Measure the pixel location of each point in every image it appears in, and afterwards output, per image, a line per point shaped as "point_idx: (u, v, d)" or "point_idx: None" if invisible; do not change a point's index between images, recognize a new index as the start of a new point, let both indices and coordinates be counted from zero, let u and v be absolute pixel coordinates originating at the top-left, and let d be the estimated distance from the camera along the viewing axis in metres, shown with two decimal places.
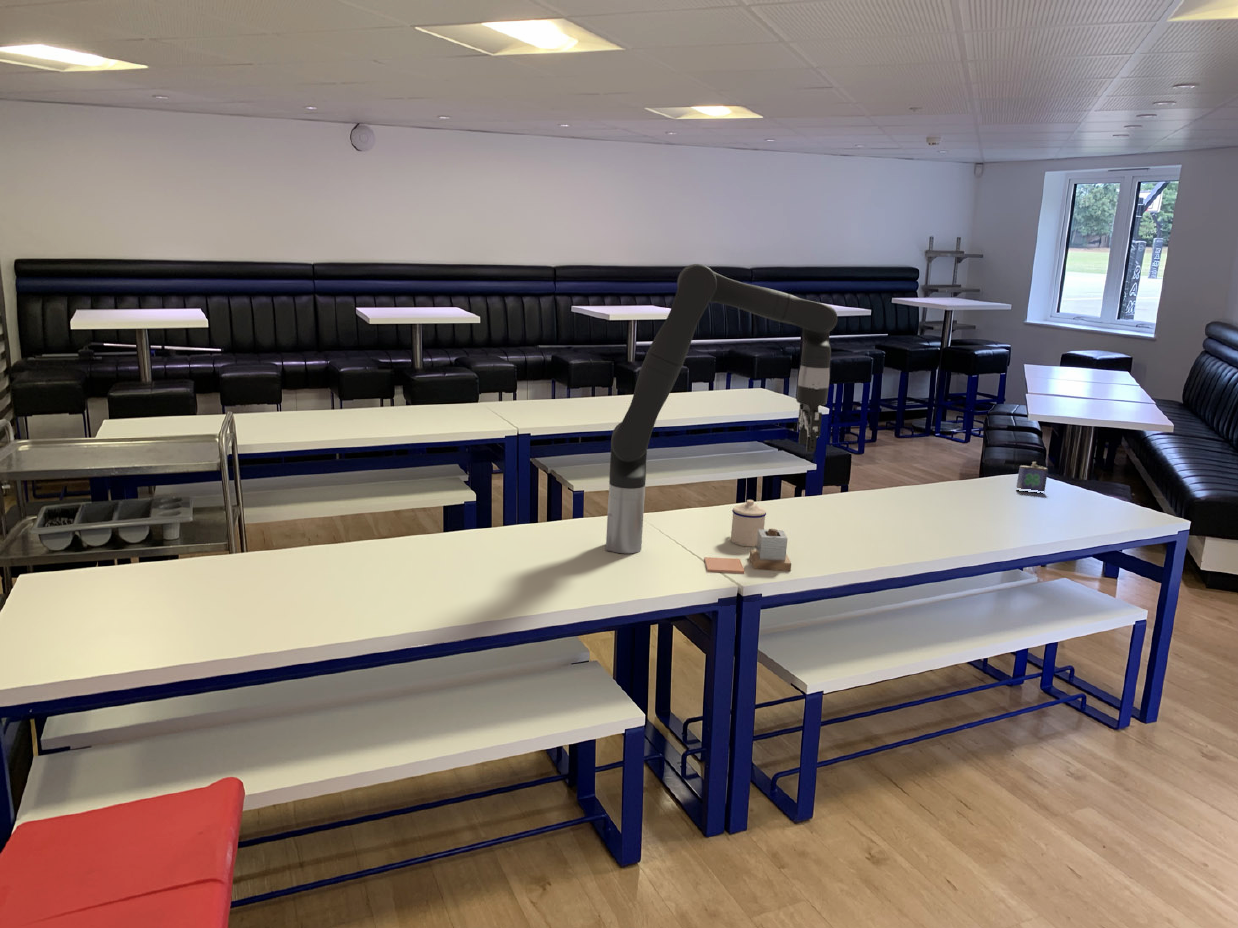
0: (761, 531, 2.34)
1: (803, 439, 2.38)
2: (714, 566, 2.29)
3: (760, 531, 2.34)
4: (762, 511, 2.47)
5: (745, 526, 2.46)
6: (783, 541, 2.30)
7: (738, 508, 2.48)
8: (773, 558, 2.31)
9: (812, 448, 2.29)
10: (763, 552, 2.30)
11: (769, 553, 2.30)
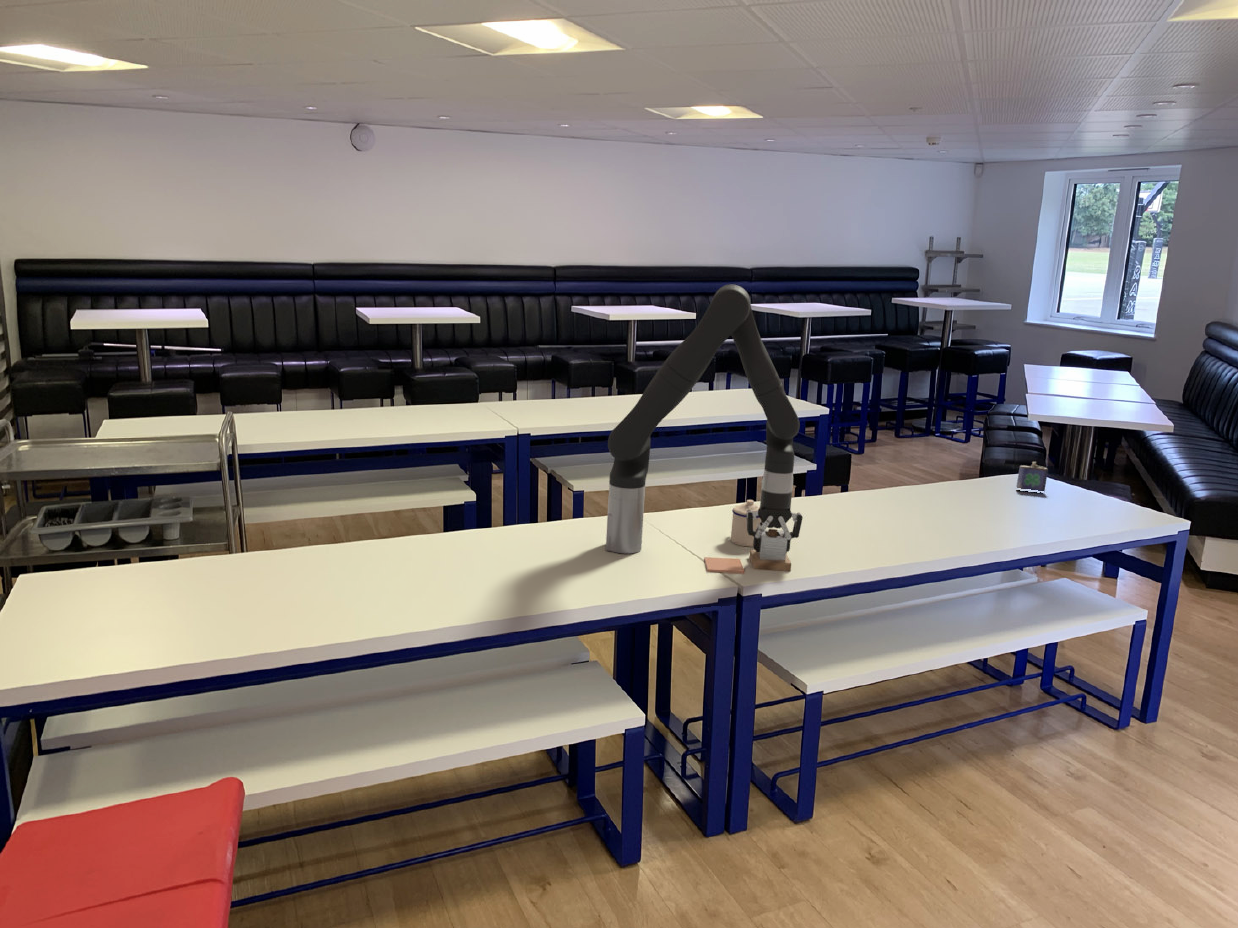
0: None
1: None
2: (714, 566, 2.29)
3: None
4: None
5: (745, 526, 2.46)
6: (783, 541, 2.30)
7: (738, 508, 2.48)
8: (773, 558, 2.31)
9: None
10: (763, 552, 2.30)
11: (769, 553, 2.30)
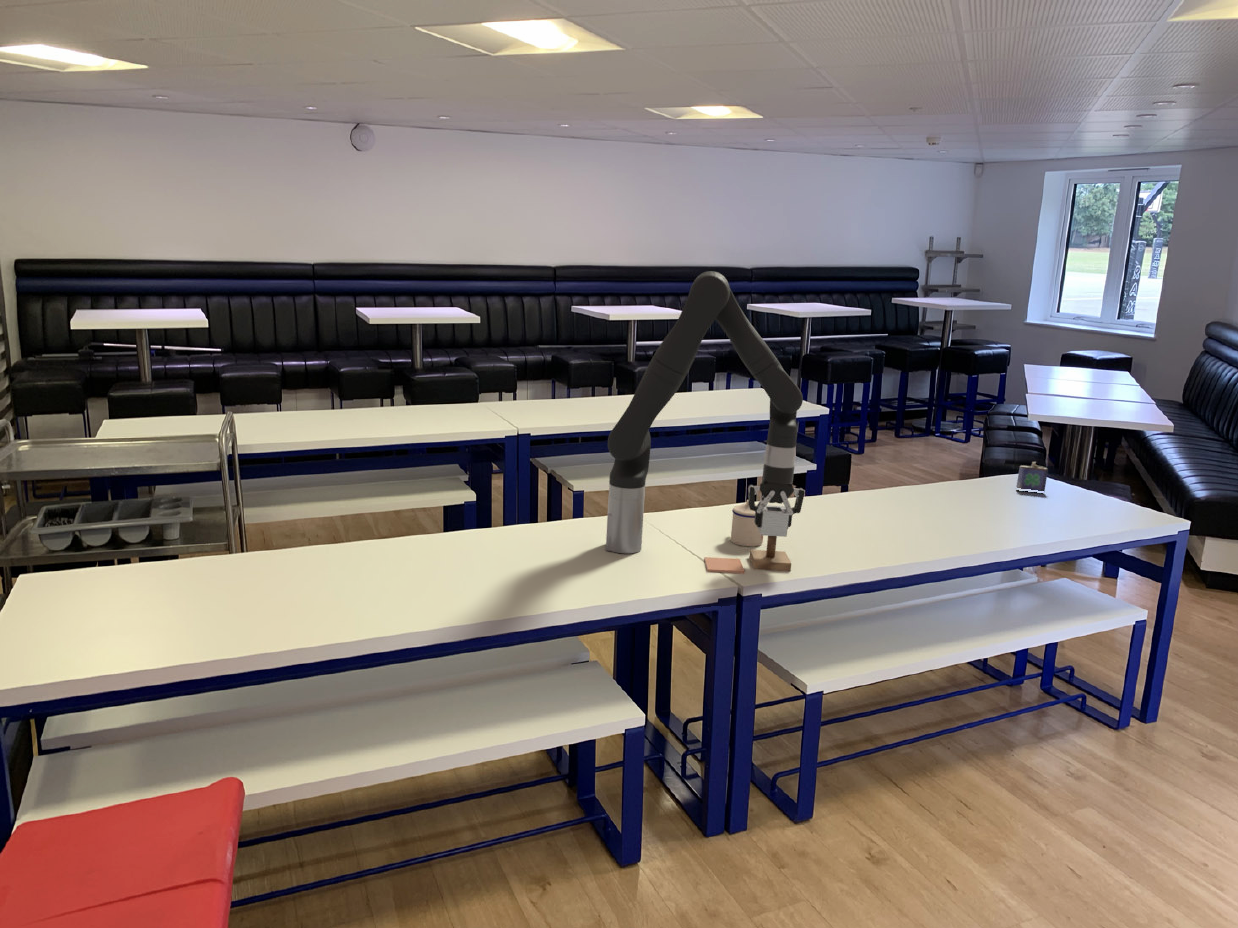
0: None
1: None
2: (714, 566, 2.29)
3: None
4: None
5: (745, 526, 2.46)
6: (785, 516, 2.28)
7: (738, 508, 2.48)
8: (774, 533, 2.29)
9: None
10: (765, 527, 2.29)
11: (770, 528, 2.29)
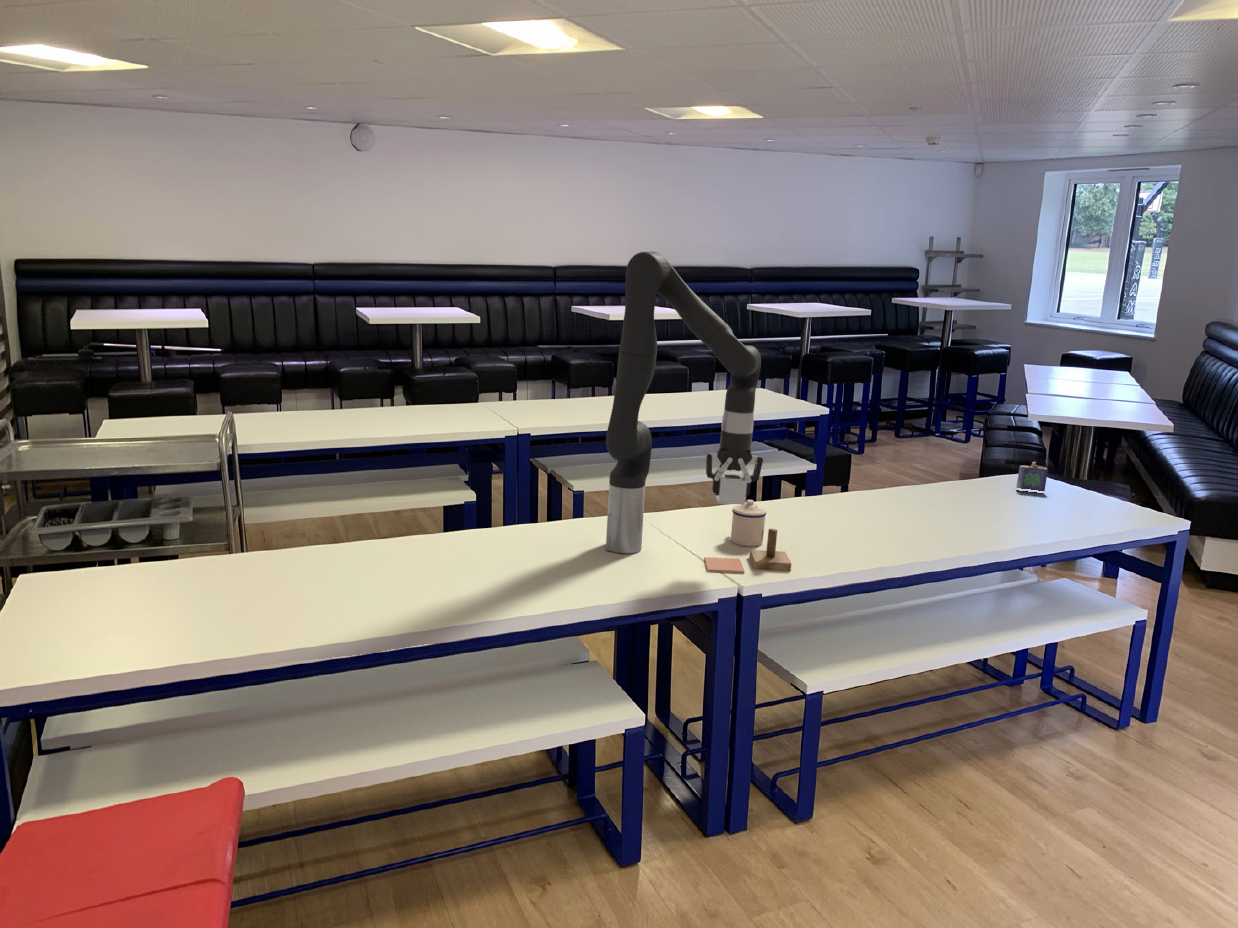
0: None
1: None
2: (714, 566, 2.29)
3: None
4: (762, 511, 2.47)
5: (745, 526, 2.46)
6: (743, 484, 2.23)
7: (738, 508, 2.48)
8: (732, 501, 2.24)
9: None
10: (722, 495, 2.24)
11: (728, 496, 2.24)
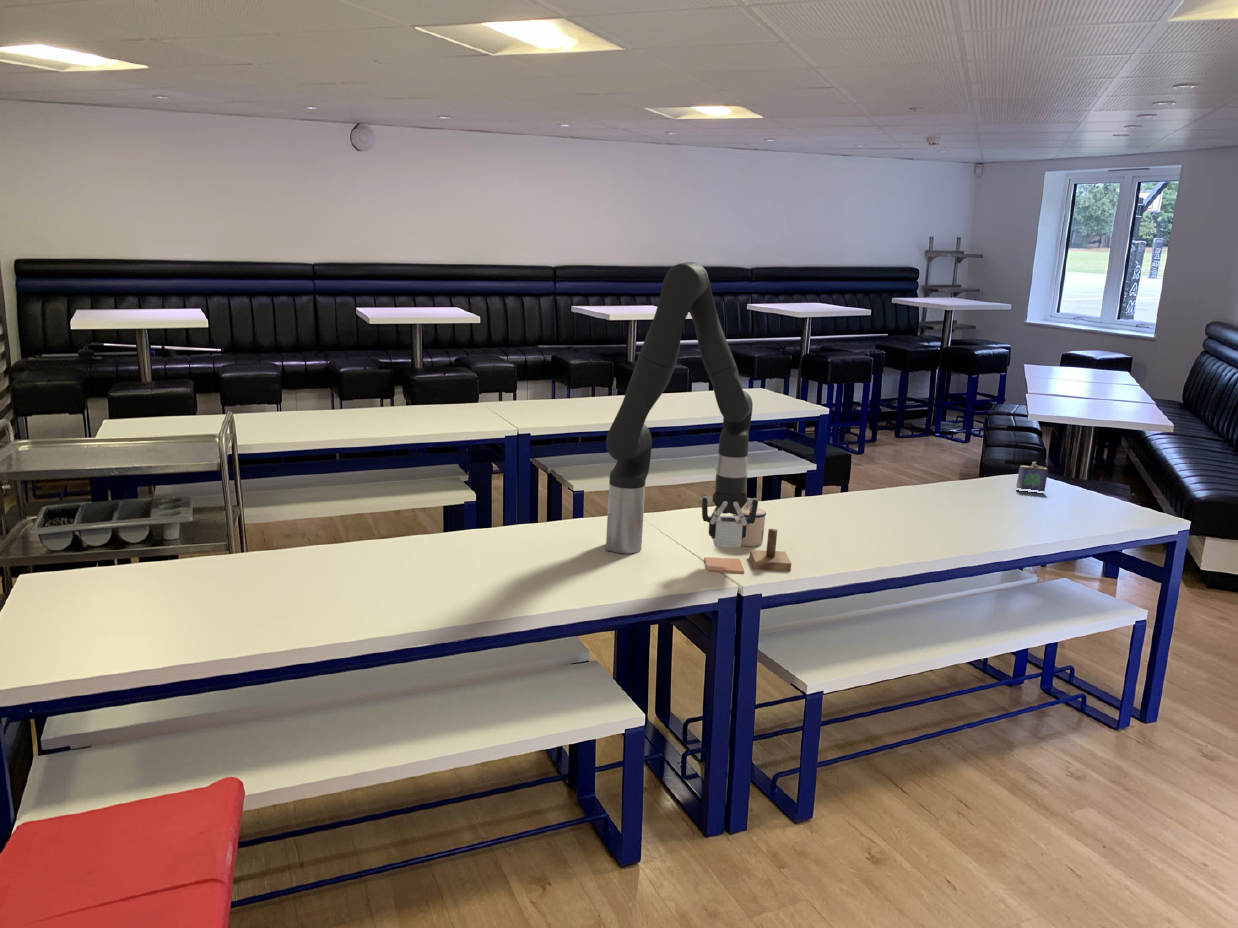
0: None
1: None
2: (714, 566, 2.29)
3: None
4: (762, 511, 2.47)
5: None
6: (738, 527, 2.25)
7: None
8: (728, 544, 2.26)
9: None
10: (718, 538, 2.25)
11: (724, 539, 2.26)
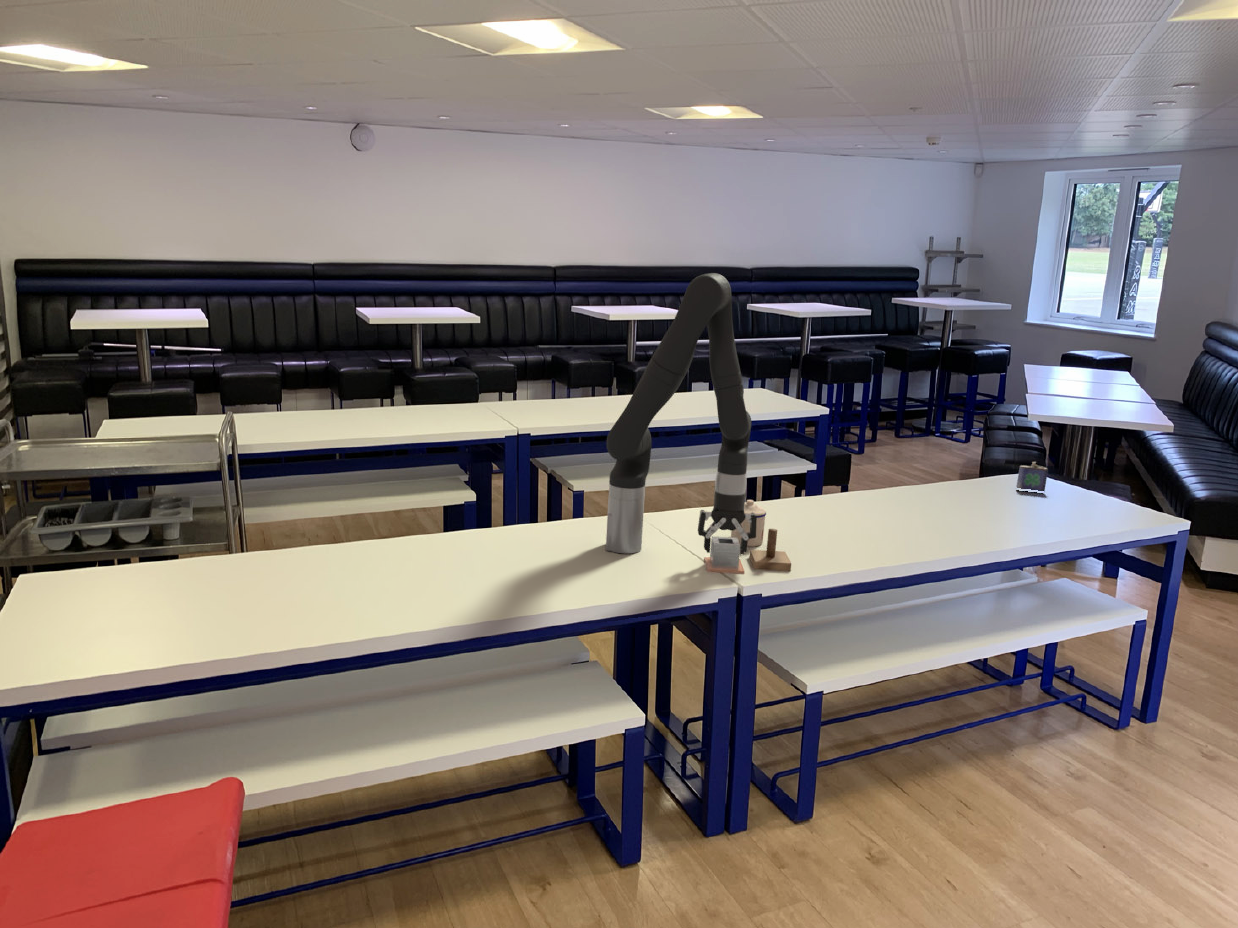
0: (714, 538, 2.30)
1: None
2: None
3: (713, 538, 2.31)
4: (762, 511, 2.47)
5: (745, 526, 2.46)
6: (736, 548, 2.26)
7: None
8: (726, 566, 2.27)
9: None
10: (716, 560, 2.27)
11: (722, 561, 2.27)
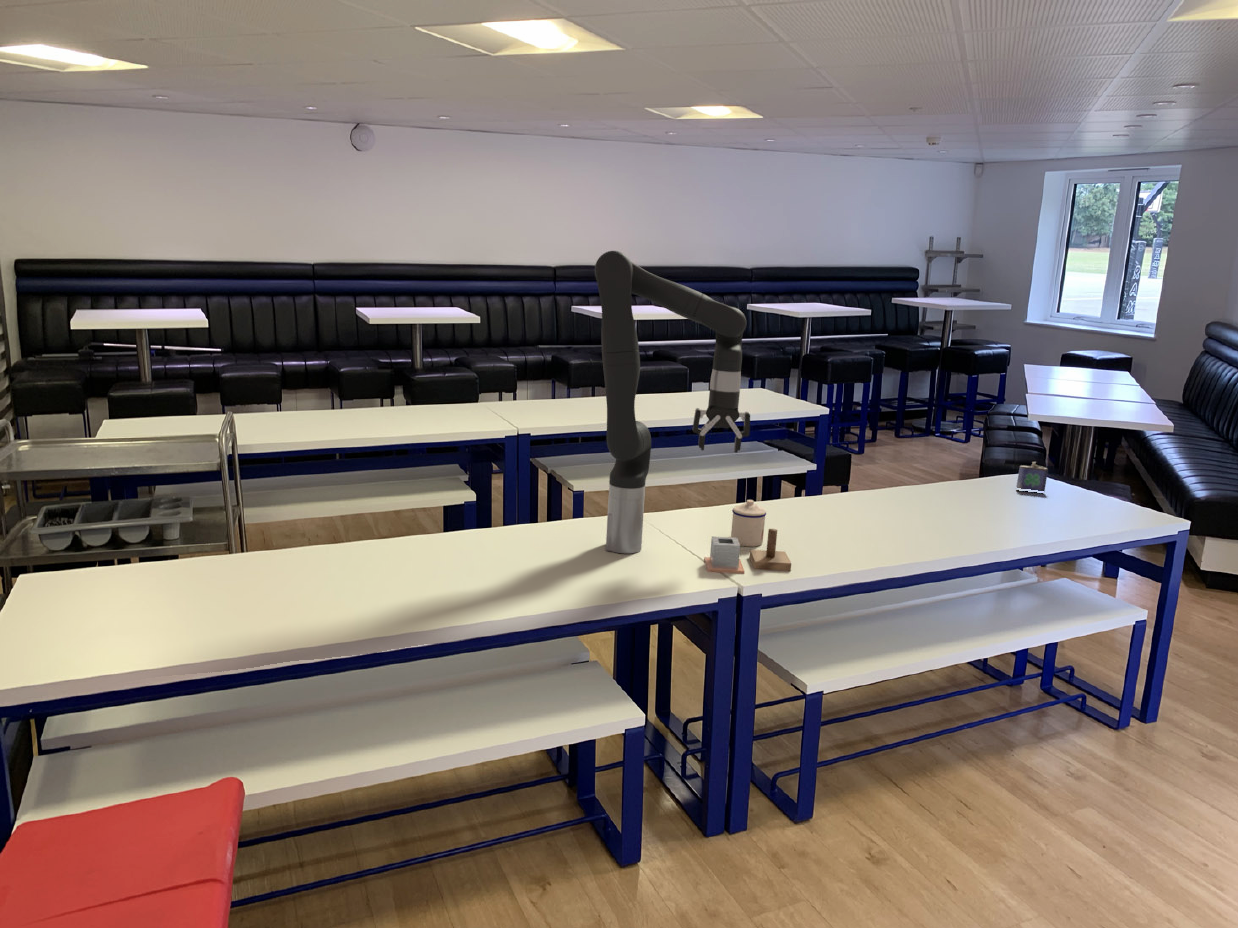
0: (714, 538, 2.30)
1: None
2: None
3: (713, 538, 2.31)
4: (762, 511, 2.47)
5: (745, 526, 2.46)
6: (736, 548, 2.26)
7: (738, 508, 2.48)
8: (726, 566, 2.27)
9: (739, 448, 2.36)
10: (716, 560, 2.27)
11: (722, 561, 2.27)
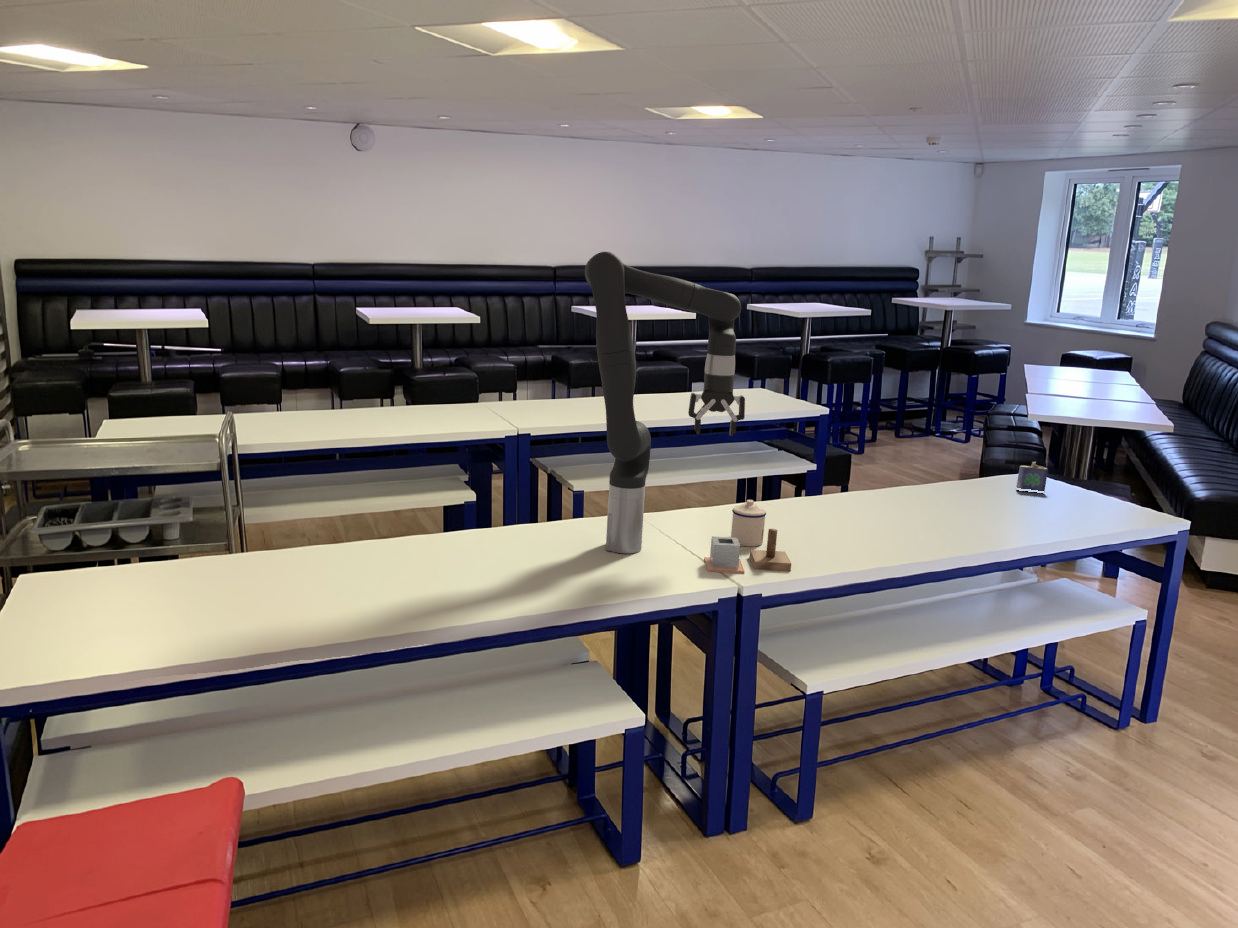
0: (714, 538, 2.30)
1: None
2: None
3: (713, 538, 2.31)
4: (762, 511, 2.47)
5: (745, 526, 2.46)
6: (736, 548, 2.26)
7: (738, 508, 2.48)
8: (726, 566, 2.27)
9: None
10: (716, 560, 2.27)
11: (722, 561, 2.27)
